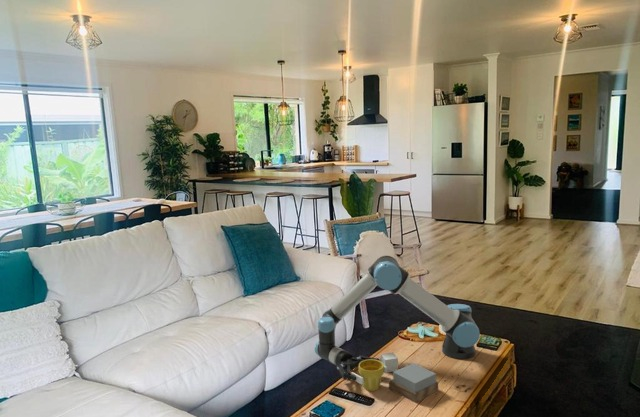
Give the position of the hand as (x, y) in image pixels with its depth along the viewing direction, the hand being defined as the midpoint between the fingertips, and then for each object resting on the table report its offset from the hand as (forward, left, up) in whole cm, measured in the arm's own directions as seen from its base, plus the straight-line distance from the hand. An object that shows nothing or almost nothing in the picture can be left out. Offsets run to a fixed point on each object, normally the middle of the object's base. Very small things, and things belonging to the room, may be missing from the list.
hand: (374, 375), depth 188 cm
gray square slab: (-11, +11, -3) cm, 16 cm away
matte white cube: (-17, -8, -6) cm, 20 cm away
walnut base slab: (-11, +11, -7) cm, 17 cm away
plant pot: (0, -2, -6) cm, 6 cm away
